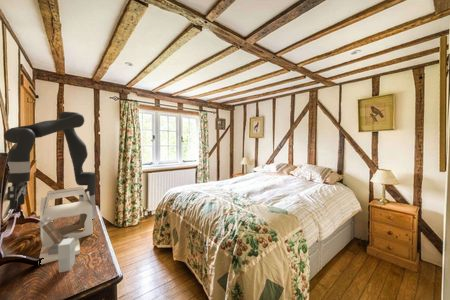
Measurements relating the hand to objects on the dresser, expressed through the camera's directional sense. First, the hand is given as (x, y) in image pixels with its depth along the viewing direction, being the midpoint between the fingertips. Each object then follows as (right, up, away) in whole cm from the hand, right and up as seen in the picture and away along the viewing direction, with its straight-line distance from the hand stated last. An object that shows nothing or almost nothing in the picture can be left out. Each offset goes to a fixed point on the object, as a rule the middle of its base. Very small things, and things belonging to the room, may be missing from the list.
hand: (17, 206), depth 91 cm
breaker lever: (+13, -20, +8) cm, 25 cm away
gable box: (+4, -24, +23) cm, 34 cm away
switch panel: (+13, -25, +8) cm, 29 cm away
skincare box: (+26, -26, -3) cm, 37 cm away
